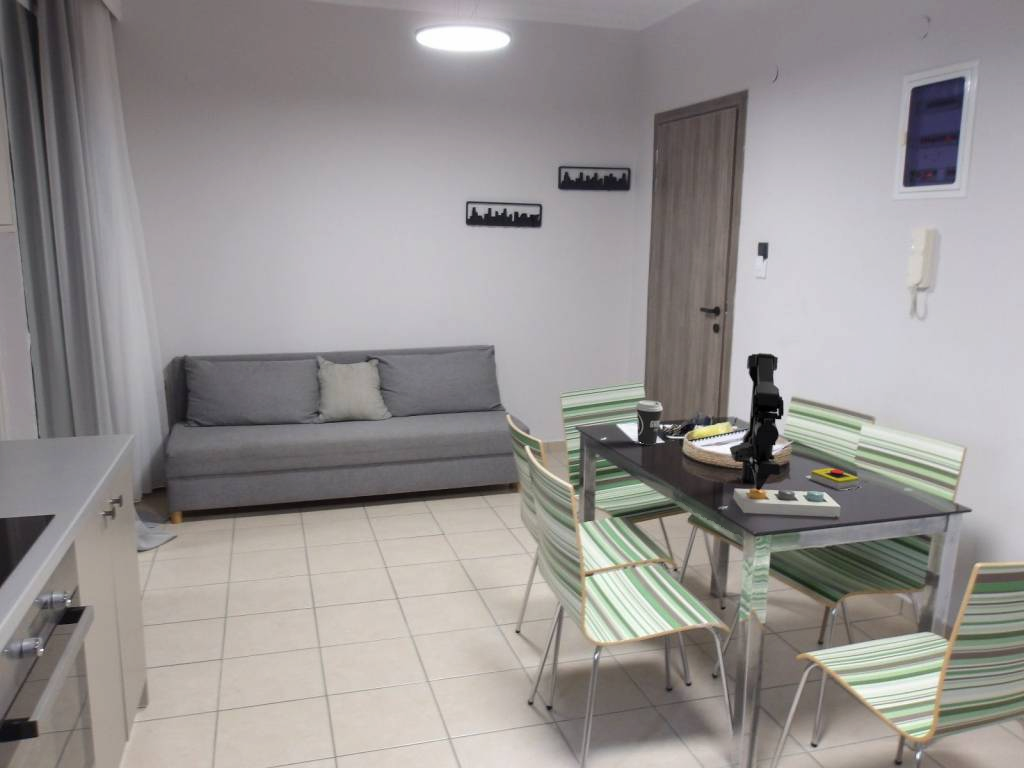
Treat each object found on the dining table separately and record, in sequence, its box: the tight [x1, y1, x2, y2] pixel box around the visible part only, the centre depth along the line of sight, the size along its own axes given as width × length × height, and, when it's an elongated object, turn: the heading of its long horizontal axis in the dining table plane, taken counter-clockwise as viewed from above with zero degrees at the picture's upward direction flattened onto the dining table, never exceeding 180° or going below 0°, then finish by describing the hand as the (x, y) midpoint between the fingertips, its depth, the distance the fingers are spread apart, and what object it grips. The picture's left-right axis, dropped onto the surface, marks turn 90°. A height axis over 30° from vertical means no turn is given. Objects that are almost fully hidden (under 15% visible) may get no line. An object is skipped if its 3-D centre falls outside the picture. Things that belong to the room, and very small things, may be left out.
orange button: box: [749, 487, 766, 499], centre depth 224 cm, size 4×4×2 cm
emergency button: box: [805, 467, 862, 491], centre depth 249 cm, size 9×4×15 cm
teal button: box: [806, 490, 824, 502], centre depth 223 cm, size 4×4×2 cm
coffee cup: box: [635, 400, 664, 444], centre depth 287 cm, size 10×10×15 cm
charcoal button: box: [778, 489, 795, 501], centre depth 224 cm, size 4×4×2 cm
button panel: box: [733, 488, 841, 518], centre depth 224 cm, size 12×26×3 cm, turn 88°
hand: (758, 489), depth 224 cm, fingers closed
